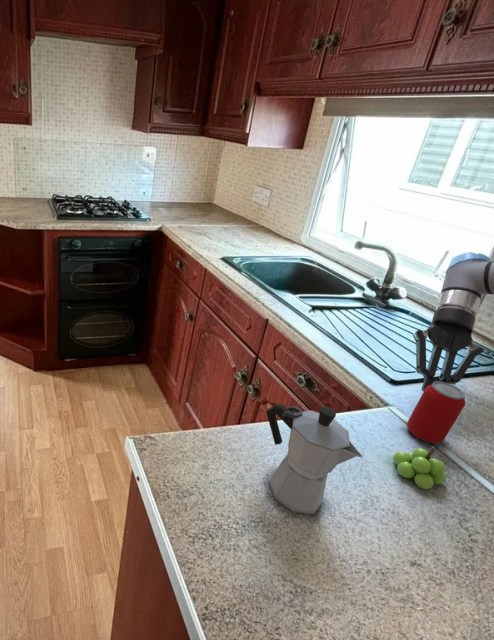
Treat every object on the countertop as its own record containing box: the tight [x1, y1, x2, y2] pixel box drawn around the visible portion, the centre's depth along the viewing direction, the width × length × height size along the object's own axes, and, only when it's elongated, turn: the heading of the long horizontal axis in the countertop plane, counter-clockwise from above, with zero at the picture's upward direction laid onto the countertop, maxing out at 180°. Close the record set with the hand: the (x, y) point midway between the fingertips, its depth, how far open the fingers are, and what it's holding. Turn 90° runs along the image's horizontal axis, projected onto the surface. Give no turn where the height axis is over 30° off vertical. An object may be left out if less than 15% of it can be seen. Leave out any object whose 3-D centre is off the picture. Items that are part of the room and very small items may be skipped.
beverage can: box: [406, 381, 466, 444], centre depth 84 cm, size 7×7×12 cm
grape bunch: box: [392, 446, 447, 490], centre depth 74 cm, size 8×8×7 cm
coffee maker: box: [266, 403, 363, 515], centre depth 66 cm, size 15×9×18 cm, turn 43°
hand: (428, 407), depth 88 cm, fingers closed
